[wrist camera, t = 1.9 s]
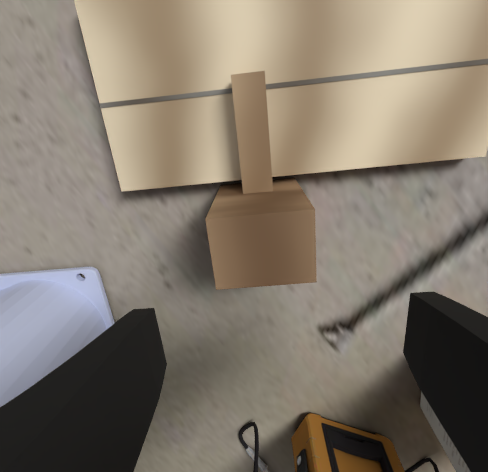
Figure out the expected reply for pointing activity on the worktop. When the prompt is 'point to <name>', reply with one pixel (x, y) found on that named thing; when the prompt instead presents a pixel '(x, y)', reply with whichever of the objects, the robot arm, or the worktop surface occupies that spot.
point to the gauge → (259, 207)
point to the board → (287, 83)
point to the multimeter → (336, 449)
